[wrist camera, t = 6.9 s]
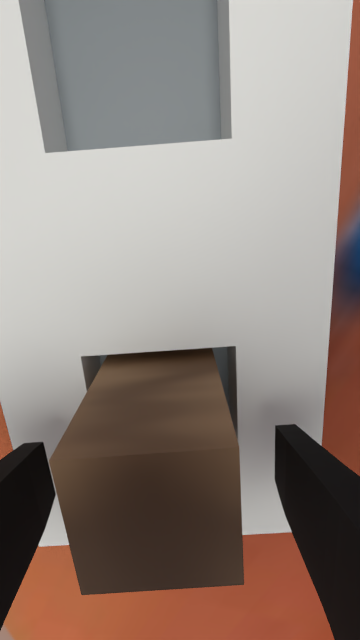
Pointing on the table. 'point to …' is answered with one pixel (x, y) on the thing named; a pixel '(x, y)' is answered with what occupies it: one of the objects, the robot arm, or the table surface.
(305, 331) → the pocket board
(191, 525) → the walnut block
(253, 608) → the table surface
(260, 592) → the table surface
